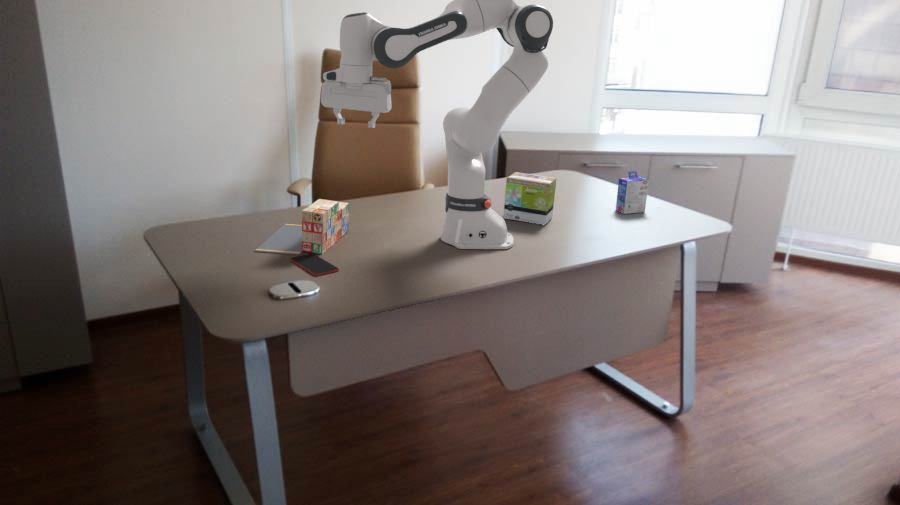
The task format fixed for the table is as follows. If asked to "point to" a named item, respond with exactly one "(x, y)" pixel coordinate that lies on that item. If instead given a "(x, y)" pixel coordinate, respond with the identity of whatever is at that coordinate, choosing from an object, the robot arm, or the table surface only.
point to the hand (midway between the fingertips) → (356, 126)
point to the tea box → (529, 198)
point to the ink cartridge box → (632, 194)
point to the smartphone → (314, 264)
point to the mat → (284, 241)
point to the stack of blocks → (323, 225)
